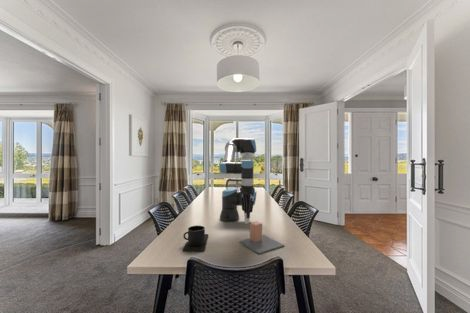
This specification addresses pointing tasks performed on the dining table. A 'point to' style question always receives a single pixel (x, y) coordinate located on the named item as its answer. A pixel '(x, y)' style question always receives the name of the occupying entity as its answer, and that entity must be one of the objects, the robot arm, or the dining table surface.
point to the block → (256, 231)
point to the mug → (195, 236)
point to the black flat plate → (195, 249)
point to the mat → (262, 244)
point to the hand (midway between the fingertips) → (247, 222)
